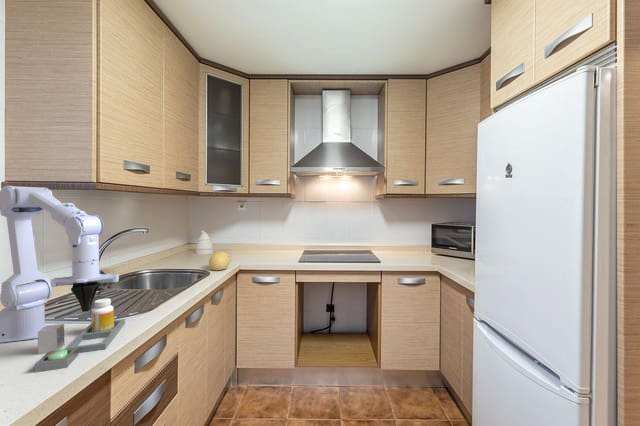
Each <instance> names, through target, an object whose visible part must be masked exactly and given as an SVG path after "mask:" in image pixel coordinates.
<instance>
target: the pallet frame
mask: <svg viewBox="0 0 640 426" xmlns="http://www.w3.org/2000/svg"><path fill="white" fill-rule="evenodd" d="M125 325H126V319H123V318H122V319H114V329H113V330H109V331H101V332H93V333H92V322H91V323H90V324H89V325H88V326H86V328H85V329H84V330H83V331H82V332H80V333H79V335H78V336H76V337H75V338H74V339H73V340H72V341H71V342H70V343H69V344H68V345H67V346H66V347H65V348H64V349H72V348H78V354H81V353H87V352H88V353H89V352H97V351H103V350H104V351H105V350H106V349H107V348H108V347H109V345H110V344H111V343H112V342H113V340H114V339H115V338H116V336H117V335H118V334H119V332H120V331H121V330H122V328H124V326H125ZM102 338H105V339H104V340H103V341H102V342H99V343H98V342H96V343H90V344H83V345H82V344H81V343H82V342H83V341H86V340H94V339H95V340H96V339H102ZM80 344H81V345H80Z"/></svg>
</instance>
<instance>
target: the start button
mask: <svg viewBox="0 0 640 426" xmlns="http://www.w3.org/2000/svg"><path fill="white" fill-rule="evenodd" d="M66 356H67V350H65V348H64V349H60V350H57V351H54V352H51V353H50V354H48V360H54V359H61V358H65V357H66Z"/></svg>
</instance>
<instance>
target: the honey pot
mask: <svg viewBox="0 0 640 426" xmlns="http://www.w3.org/2000/svg"><path fill="white" fill-rule="evenodd" d="M200 232H201V235H200V236H199V238H197V240H198V241H197V244H196V246H195V254H196V255H209V254H214V246H213V243H212V240H211V239H212V238H211V237H210V236H209V234H208V233H207V232H205V230H200Z"/></svg>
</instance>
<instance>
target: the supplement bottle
mask: <svg viewBox="0 0 640 426" xmlns="http://www.w3.org/2000/svg"><path fill="white" fill-rule="evenodd" d="M114 309H115V307H114V306H113V305H112V299H111V298H99V299H97V300H94V308H93V309H91V310H92V311H91V323H92V331H91V333H93V332H101V331H109V330H113V329H114V328H115V326H114V320H115V315H114V314H115V312H114V311H115V310H114Z"/></svg>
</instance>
